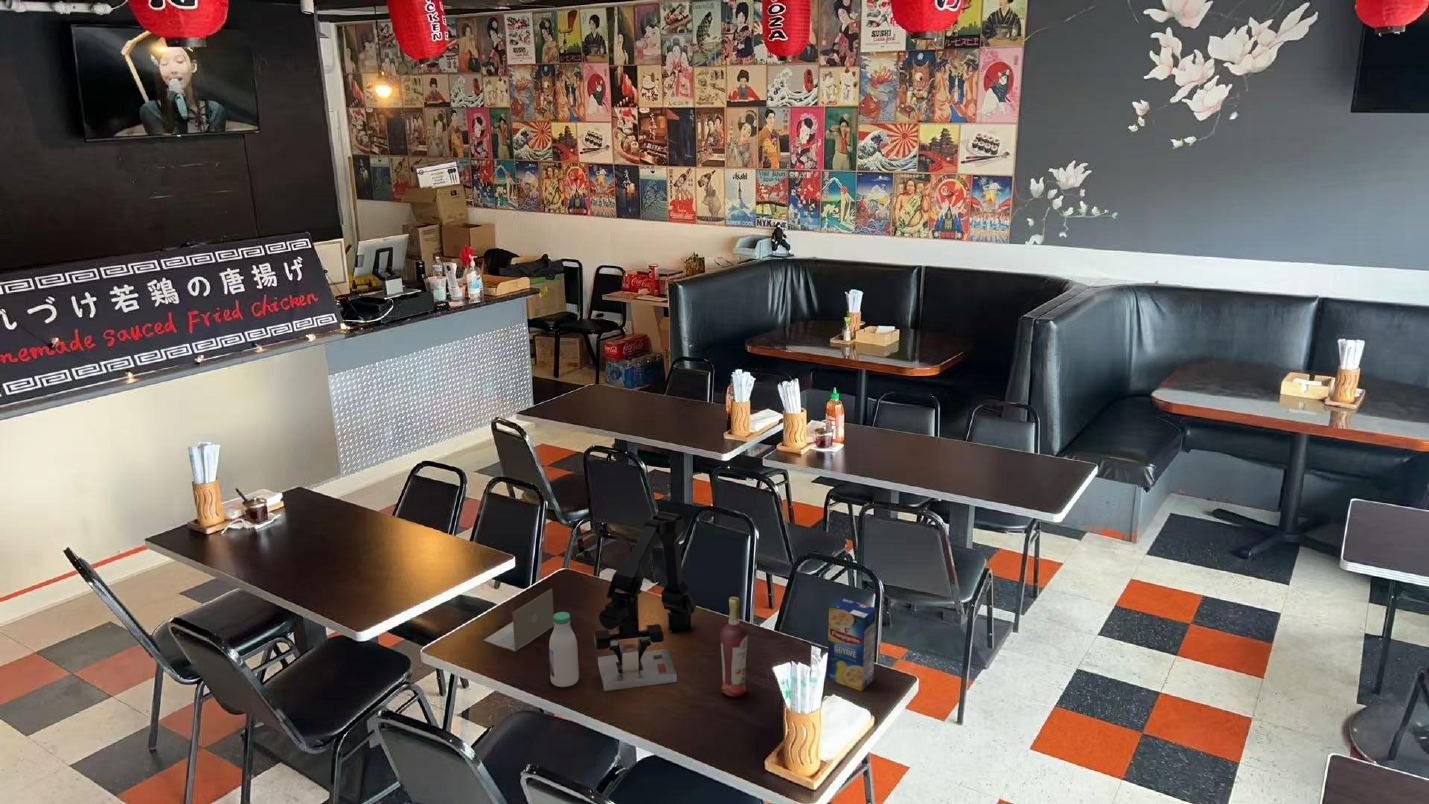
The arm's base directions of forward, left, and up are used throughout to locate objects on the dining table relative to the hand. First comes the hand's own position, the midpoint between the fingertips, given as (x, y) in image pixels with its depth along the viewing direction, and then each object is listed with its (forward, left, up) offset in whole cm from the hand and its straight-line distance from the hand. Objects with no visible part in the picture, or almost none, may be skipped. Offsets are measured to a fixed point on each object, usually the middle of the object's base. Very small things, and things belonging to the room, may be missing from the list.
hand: (629, 663), depth 283 cm
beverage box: (-59, +17, -3) cm, 61 cm away
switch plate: (-2, 0, -3) cm, 4 cm away
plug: (0, 0, -1) cm, 1 cm away
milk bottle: (+18, -1, -3) cm, 18 cm away
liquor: (-26, +16, -3) cm, 31 cm away
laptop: (+29, -31, -4) cm, 42 cm away
